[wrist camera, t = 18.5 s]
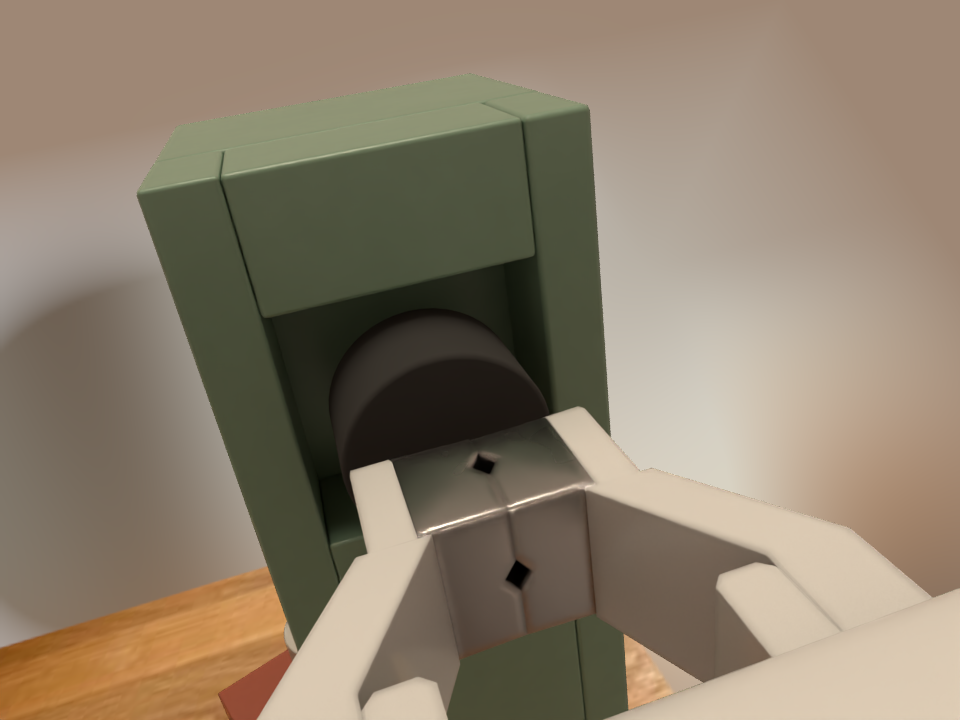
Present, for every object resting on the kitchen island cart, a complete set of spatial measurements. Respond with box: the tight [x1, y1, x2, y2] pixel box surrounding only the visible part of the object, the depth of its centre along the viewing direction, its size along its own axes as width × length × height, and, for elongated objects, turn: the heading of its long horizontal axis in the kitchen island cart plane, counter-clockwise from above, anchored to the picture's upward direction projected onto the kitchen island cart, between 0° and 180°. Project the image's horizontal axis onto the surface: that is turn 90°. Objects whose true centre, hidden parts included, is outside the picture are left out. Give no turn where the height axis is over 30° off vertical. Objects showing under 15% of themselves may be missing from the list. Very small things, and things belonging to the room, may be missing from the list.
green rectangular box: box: [137, 74, 628, 720], centre depth 19 cm, size 6×6×30 cm
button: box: [329, 308, 550, 505], centre depth 11 cm, size 3×2×3 cm, turn 106°
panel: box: [218, 650, 292, 720], centre depth 36 cm, size 10×8×3 cm
